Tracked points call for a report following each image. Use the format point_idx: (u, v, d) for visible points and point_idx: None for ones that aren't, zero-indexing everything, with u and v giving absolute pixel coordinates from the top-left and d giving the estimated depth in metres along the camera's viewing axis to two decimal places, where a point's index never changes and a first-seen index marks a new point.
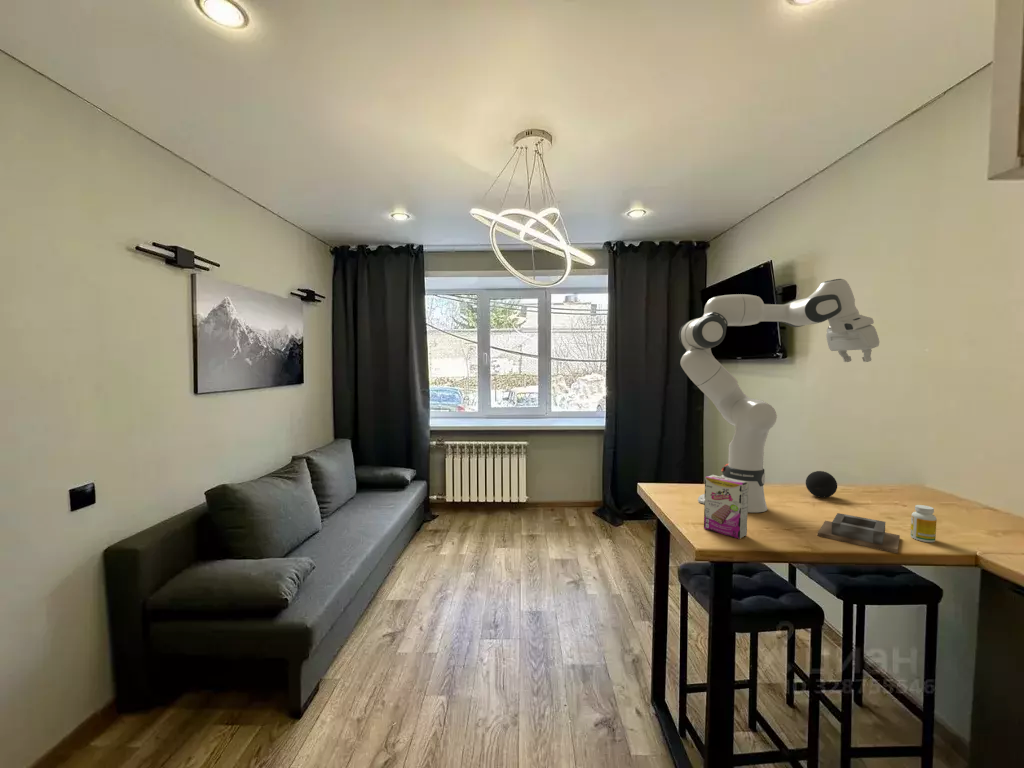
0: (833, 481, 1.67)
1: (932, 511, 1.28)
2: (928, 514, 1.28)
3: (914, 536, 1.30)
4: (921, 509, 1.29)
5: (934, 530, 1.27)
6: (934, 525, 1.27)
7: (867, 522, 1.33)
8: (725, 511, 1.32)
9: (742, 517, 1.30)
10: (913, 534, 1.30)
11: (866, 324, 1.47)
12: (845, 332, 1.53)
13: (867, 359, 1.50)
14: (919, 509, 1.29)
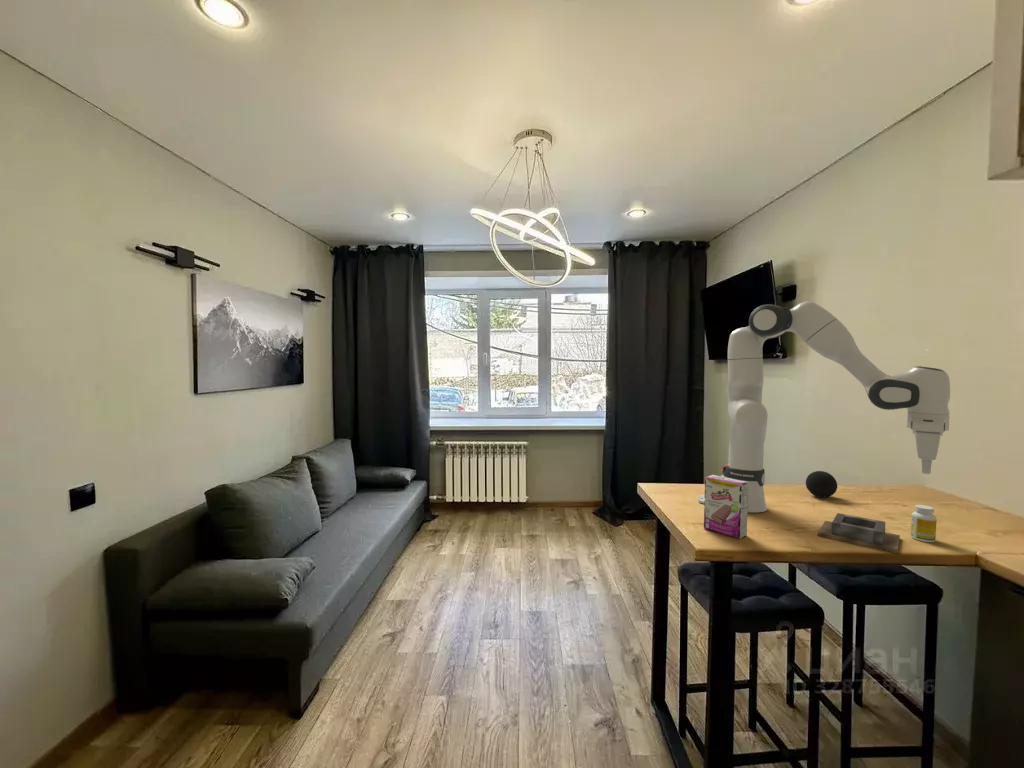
0: (833, 481, 1.67)
1: (932, 511, 1.28)
2: (928, 514, 1.28)
3: (914, 536, 1.30)
4: (921, 509, 1.29)
5: (934, 530, 1.27)
6: (934, 525, 1.27)
7: (867, 522, 1.33)
8: (725, 511, 1.32)
9: (742, 517, 1.30)
10: (913, 534, 1.30)
11: (929, 430, 1.22)
12: None
13: (924, 470, 1.25)
14: (919, 509, 1.29)
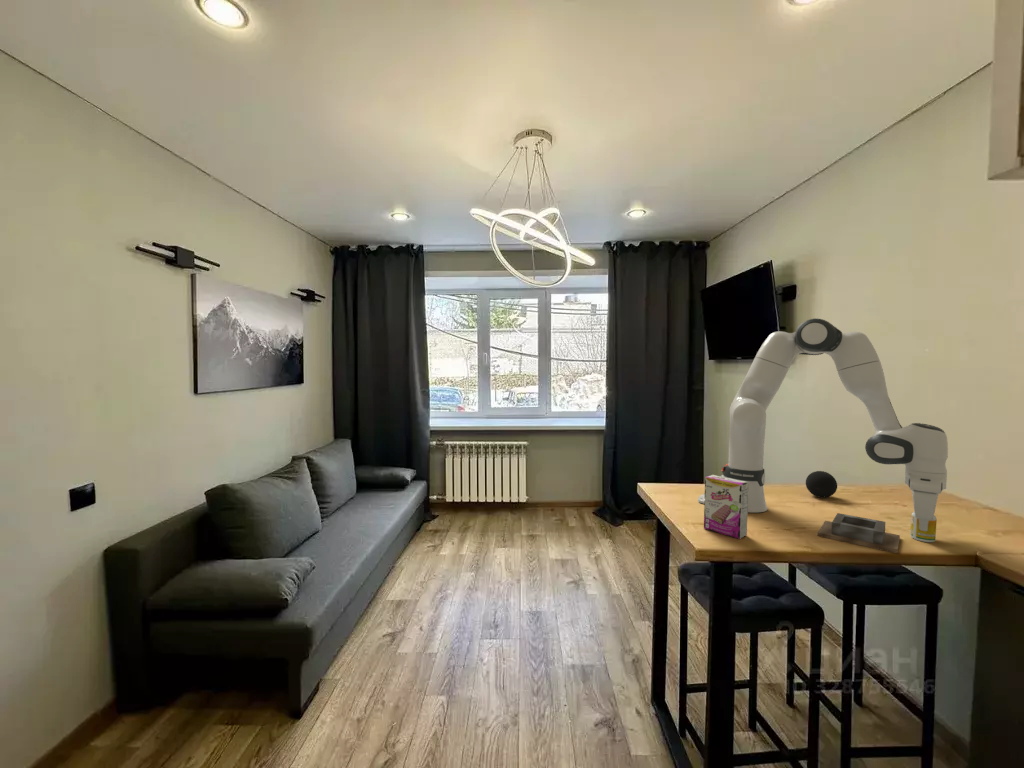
0: (833, 481, 1.67)
1: None
2: None
3: (914, 536, 1.30)
4: None
5: (934, 530, 1.27)
6: (934, 525, 1.27)
7: (867, 522, 1.33)
8: (724, 511, 1.32)
9: (742, 517, 1.30)
10: (913, 534, 1.30)
11: (927, 490, 1.23)
12: None
13: (921, 527, 1.27)
14: None
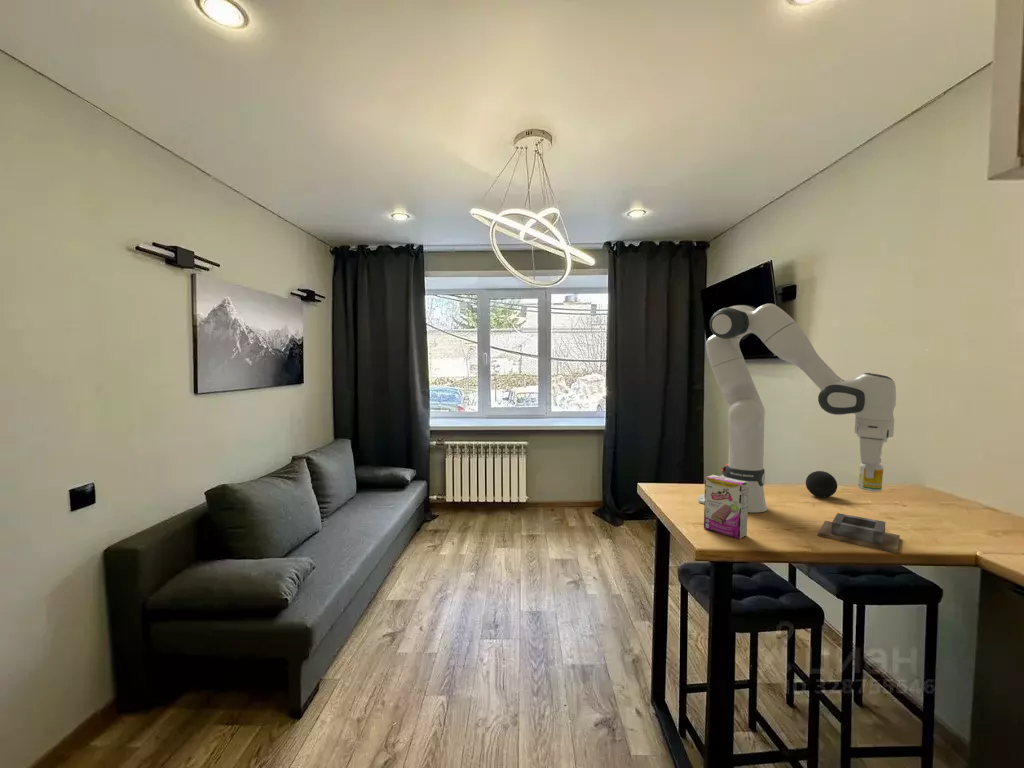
0: (833, 481, 1.67)
1: (879, 461, 1.29)
2: None
3: (861, 486, 1.31)
4: None
5: (880, 479, 1.28)
6: (881, 475, 1.28)
7: (867, 522, 1.33)
8: (725, 511, 1.32)
9: (742, 517, 1.30)
10: (860, 484, 1.31)
11: (873, 436, 1.24)
12: None
13: (868, 475, 1.28)
14: None
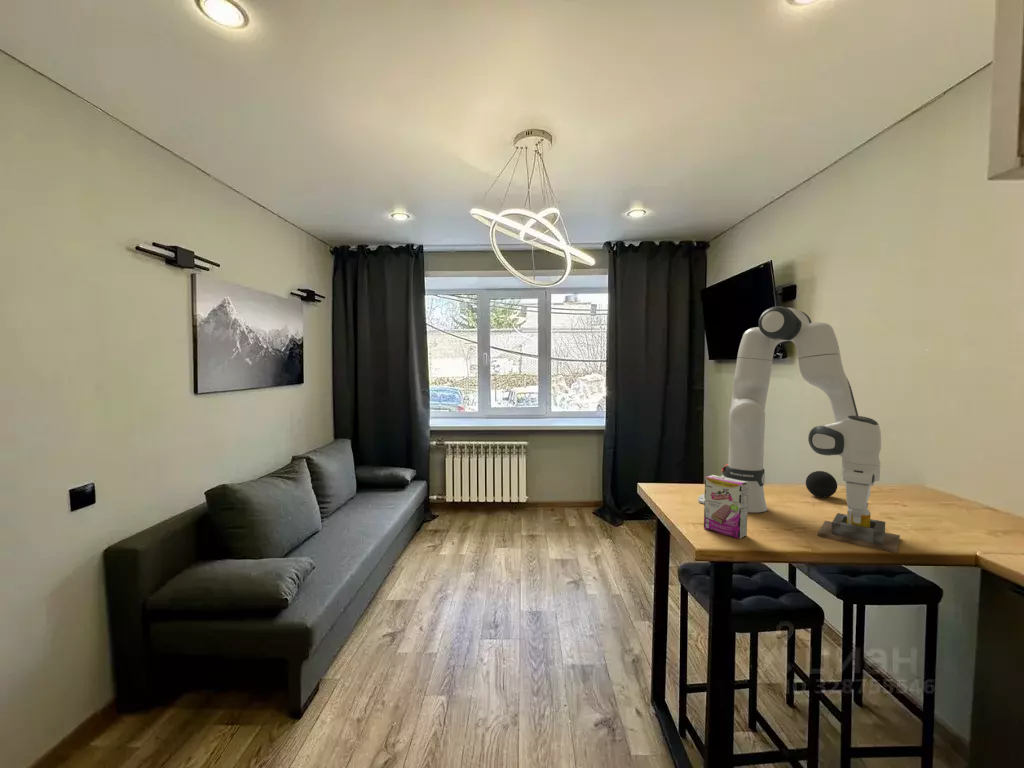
0: (833, 481, 1.67)
1: (866, 506, 1.29)
2: None
3: None
4: None
5: (867, 525, 1.29)
6: (868, 520, 1.29)
7: None
8: (724, 511, 1.32)
9: (742, 517, 1.30)
10: None
11: (858, 481, 1.24)
12: None
13: (855, 520, 1.27)
14: None
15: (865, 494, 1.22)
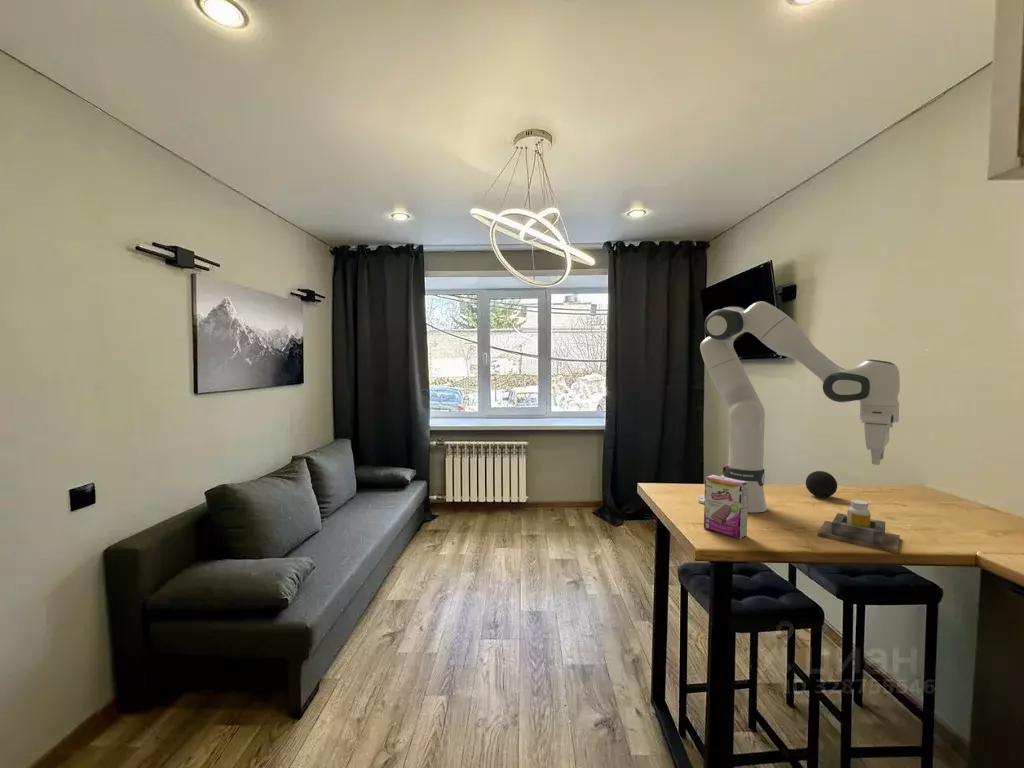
0: (833, 481, 1.67)
1: (866, 506, 1.29)
2: (862, 509, 1.29)
3: None
4: (855, 504, 1.30)
5: (867, 525, 1.29)
6: (868, 520, 1.29)
7: None
8: (725, 511, 1.32)
9: (742, 517, 1.30)
10: None
11: (877, 421, 1.24)
12: None
13: (874, 461, 1.28)
14: (854, 504, 1.30)
15: (884, 433, 1.23)
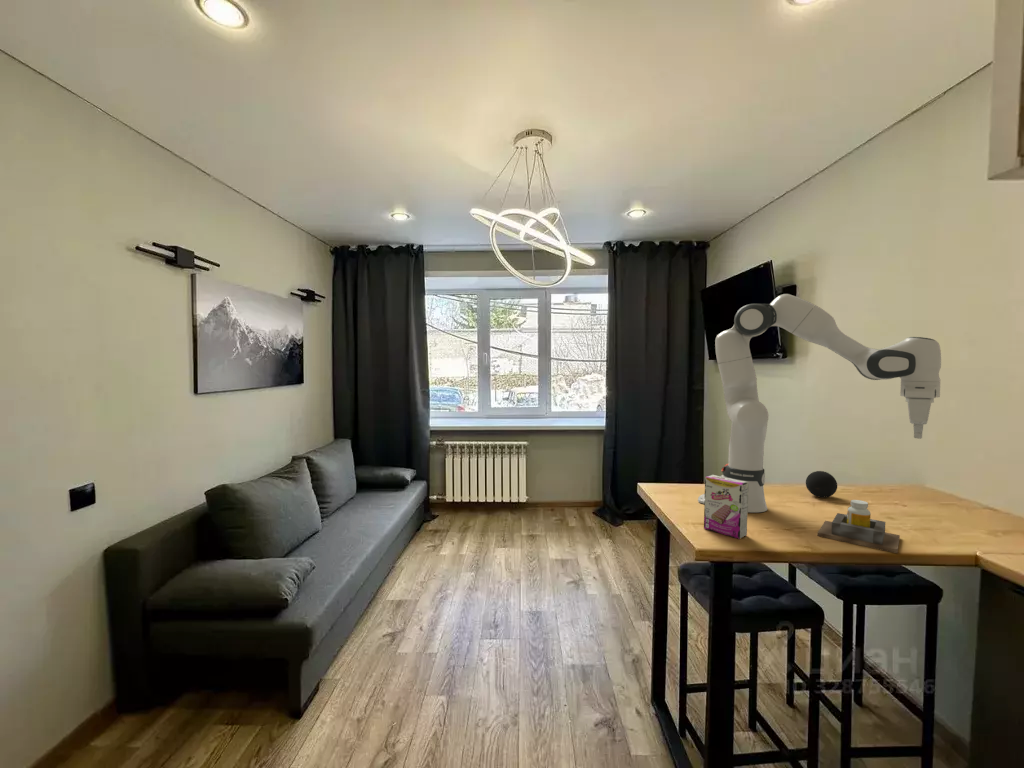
0: (833, 481, 1.67)
1: (866, 506, 1.29)
2: (862, 509, 1.29)
3: None
4: (855, 504, 1.30)
5: (867, 525, 1.29)
6: (868, 520, 1.29)
7: None
8: (724, 511, 1.32)
9: (742, 517, 1.30)
10: None
11: (921, 396, 1.28)
12: None
13: (916, 435, 1.31)
14: (854, 504, 1.30)
15: (928, 407, 1.26)
